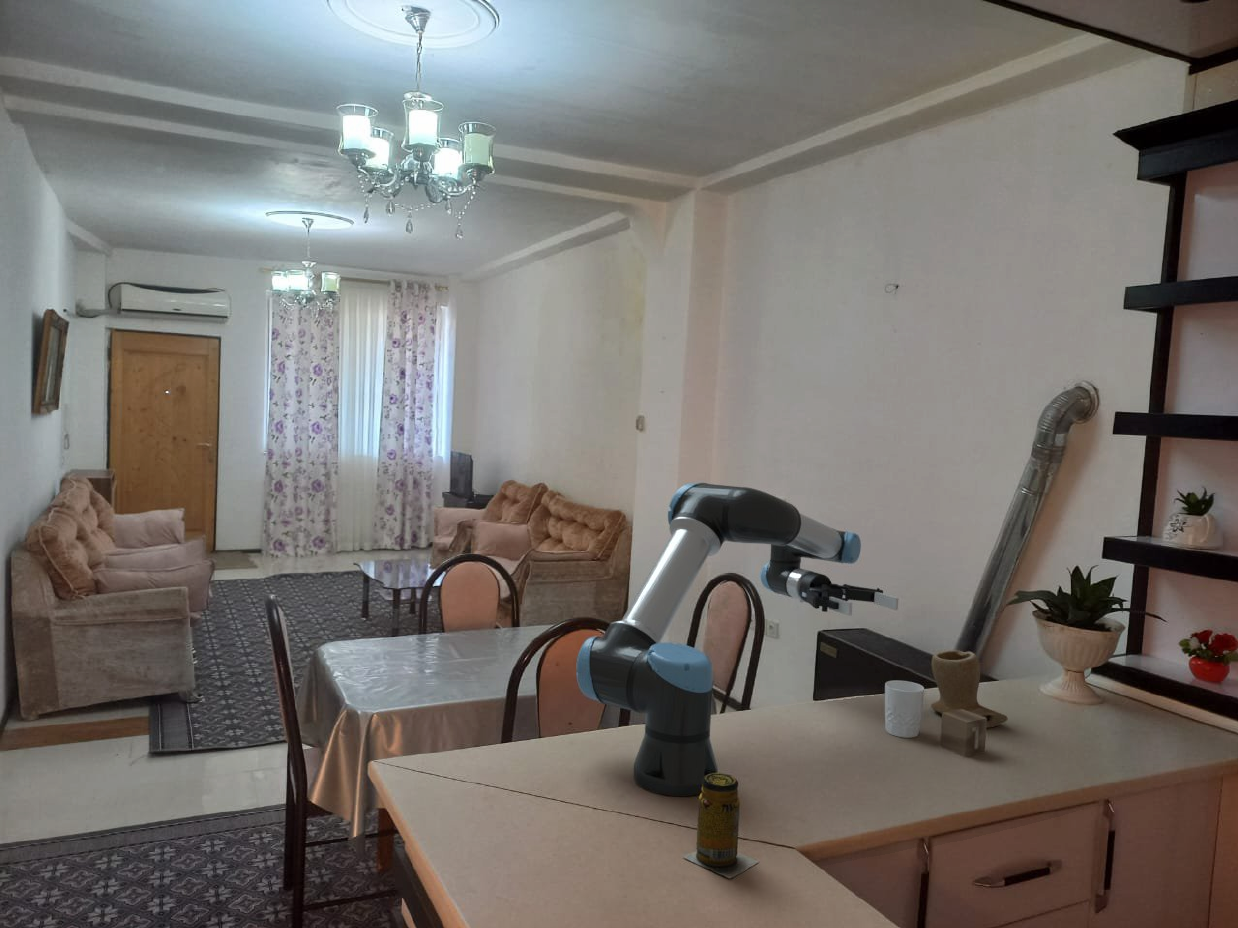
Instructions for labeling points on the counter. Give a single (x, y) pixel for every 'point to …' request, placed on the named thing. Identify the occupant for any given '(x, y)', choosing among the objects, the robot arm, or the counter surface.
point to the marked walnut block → (963, 732)
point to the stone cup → (960, 685)
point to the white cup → (903, 708)
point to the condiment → (719, 827)
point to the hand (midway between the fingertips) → (874, 606)
